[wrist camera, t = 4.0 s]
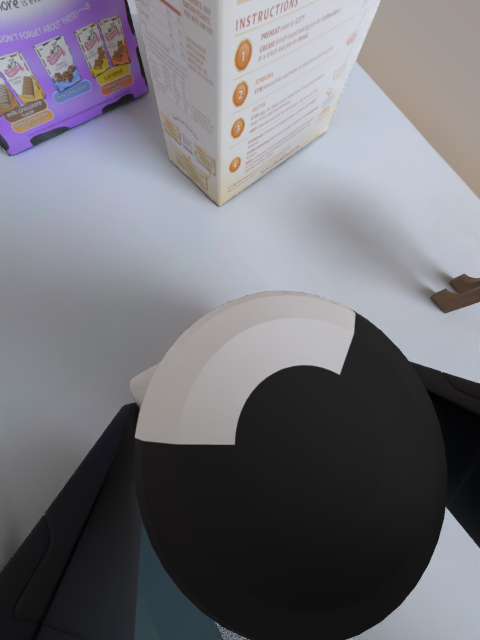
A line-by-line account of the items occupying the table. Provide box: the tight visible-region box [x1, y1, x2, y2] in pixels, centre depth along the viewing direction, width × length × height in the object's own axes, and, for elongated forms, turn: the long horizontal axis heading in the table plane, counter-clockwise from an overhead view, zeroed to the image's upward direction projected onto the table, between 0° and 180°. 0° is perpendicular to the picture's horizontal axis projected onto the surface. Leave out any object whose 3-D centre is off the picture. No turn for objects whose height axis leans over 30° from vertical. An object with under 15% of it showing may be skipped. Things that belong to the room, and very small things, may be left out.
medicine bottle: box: [129, 291, 447, 640], centre depth 9 cm, size 7×7×12 cm
